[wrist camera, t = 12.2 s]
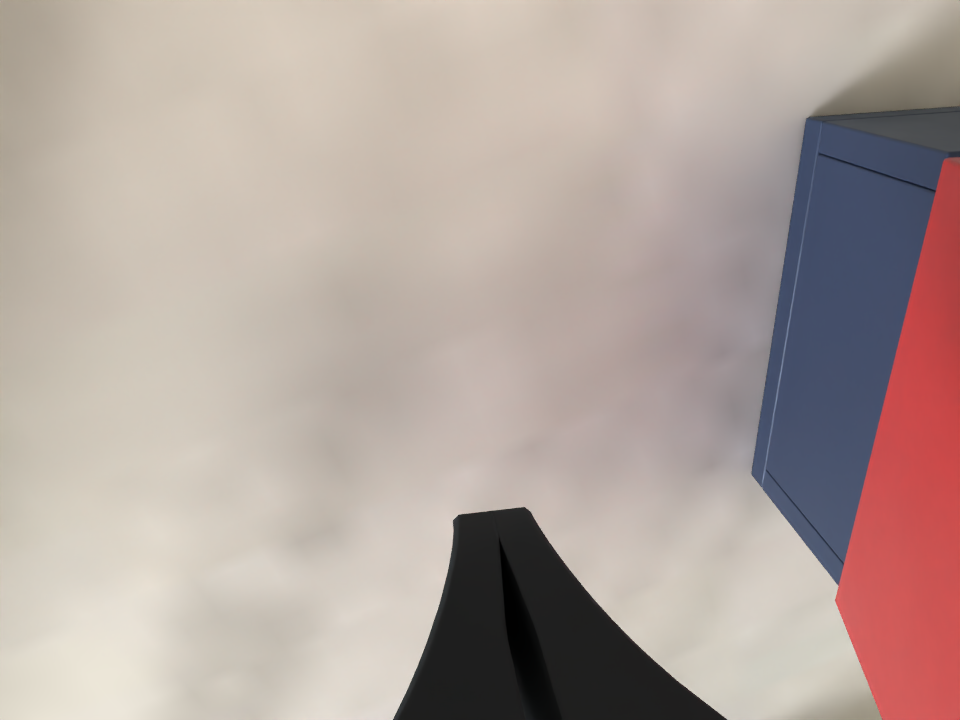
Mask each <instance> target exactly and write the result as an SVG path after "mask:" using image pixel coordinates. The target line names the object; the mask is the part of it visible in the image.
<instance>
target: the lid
mask: <svg viewBox="0 0 960 720" xmlns="http://www.w3.org/2000/svg"><path fill="white" fill-rule="evenodd" d="M835 601H836V604H837V606H838V609H839V611H840V614H841V616H842V619H843V622H844V624H845V627H846V629H847V632H848V634H849V637H850V639H851V642H852V644H853V647H854V649H855V652H856V654H857V657H858V659H859V662H860V664H861V667H862V669H863V672H864V674H865V677H866V679H867V682H868V684H869V687H870V689H871V692H872V694H873V697H874V699H875V702H876V705H877V707H878V710H879V712H880V715H881V717H882V720H960V157H954V158H946V159H944V161H943V164H942V169H941V173H940V177H939V181H938V185H937V189H936V193H935V197H934V201H933V205H932V209H931V213H930V217H929V221H928V225H927V229H926V234H925V238H924V242H923V246H922V250H921V254H920V258H919V262H918V266H917V270H916V274H915V278H914V282H913V286H912V290H911V294H910V299H909V303H908V307H907V311H906V315H905V319H904V323H903V327H902V331H901V335H900V339H899V343H898V347H897V351H896V355H895V359H894V364H893V368H892V372H891V376H890V380H889V384H888V388H887V392H886V396H885V400H884V404H883V408H882V412H881V416H880V420H879V424H878V429H877V433H876V437H875V441H874V445H873V449H872V453H871V457H870V461H869V465H868V469H867V473H866V477H865V481H864V485H863V489H862V494H861V498H860V502H859V506H858V510H857V514H856V518H855V522H854V526H853V530H852V534H851V538H850V542H849V546H848V550H847V554H846V559H845V563H844V567H843V571H842V575H841V579H840V583H839V587H838V591H837V595H836V599H835Z"/></svg>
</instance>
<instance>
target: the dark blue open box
mask: <svg viewBox="0 0 960 720" xmlns="http://www.w3.org/2000/svg"><path fill="white" fill-rule="evenodd" d="M954 157H960V106H958V107H944V108H930V109H916V110H902V111H888V112H874V113H860V114H846V115H832V116H818V117H809V118H807V119H806V124H805V131H804V137H803V144H802V150H801V157H800V163H799V170H798V176H797V183H796V189H795V196H794V202H793V208H792V215H791V221H790V228H789V234H788V241H787V247H786V254H785V260H784V267H783V273H782V280H781V286H780V292H779V299H778V305H777V312H776V318H775V325H774V331H773V338H772V344H771V351H770V357H769V364H768V370H767V377H766V383H765V389H764V396H763V402H762V409H761V415H760V422H759V428H758V435H757V441H756V448H755V454H754V461H753V467H752V476H753V477H754V478H755V479H756V481H757V482H758V483H759V485H760V486H761V487H763V490H764V491H765V493H766V494H767V495H768V496H769V498H770V499H771V500H772V502H773V503H774V504H775V505H776V507H777V508H778V509H779V510H780V512H781V513H782V514H783V516H784V517H785V518H786V519H787V521H788V522H789V523H790V525H791V526H792V527H793V528H794V530H795V531H796V532H797V533H798V535H799V536H800V537H801V539H802V540H803V541H804V542H805V544H806V545H807V546H808V547H809V549H810V550H811V551H812V553H813V554H814V555H815V556H816V558H817V559H818V560H819V562H820V563H821V564H822V565H823V567H824V568H825V569H826V570H827V572H828V573H829V574H830V576H831V577H832V578H833V579H834V581H835V582H836V583H837V585H838V586H839V583H840V579H841V575H842V571H843V567H844V563H845V559H846V554H847V550H848V546H849V542H850V538H851V534H852V530H853V526H854V522H855V518H856V514H857V510H858V506H859V502H860V498H861V494H862V489H863V485H864V481H865V477H866V473H867V469H868V465H869V461H870V457H871V453H872V449H873V445H874V441H875V437H876V433H877V429H878V424H879V420H880V416H881V412H882V408H883V404H884V400H885V396H886V392H887V388H888V384H889V380H890V376H891V372H892V368H893V364H894V359H895V355H896V351H897V347H898V343H899V339H900V335H901V331H902V327H903V323H904V319H905V315H906V311H907V307H908V303H909V299H910V294H911V290H912V286H913V282H914V278H915V274H916V270H917V266H918V262H919V258H920V254H921V250H922V246H923V242H924V238H925V234H926V229H927V225H928V221H929V217H930V213H931V209H932V205H933V201H934V197H935V193H936V189H937V185H938V181H939V177H940V173H941V169H942V164H943V161H944V159H946V158H954Z"/></svg>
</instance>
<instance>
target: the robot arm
mask: <svg viewBox="0 0 960 720" xmlns="http://www.w3.org/2000/svg"><path fill="white" fill-rule="evenodd" d="M453 526H454V534H453V546H452V553H451V558H450V564H449V569H448V573H447V577H446V581H445V585H444V589H443V593H442V597H441V601H440V604H439V608H438V611H437V614H436V617H435V620H434V623H433V626H432V629H431V632H430V635H429V638H428V641H427V644H426V646H425V649H424V651H423V654H422V657H421V659H420V662H419V664H418V667H417V669H416V671H415V674H414V676H413V678H412V681H411V683H410V685H409V688H408V690H407V692H406V694H405V696H404V698H403V700H402V702H401V704H400V706H399V709H398V711H397V713H396V715H395V717H394V719H393V720H727V719H726V718H724V717H723V716H722V715H720V714H719V713H718V712H717V711H715V710H714V709H713V708H711V707H710V706H709V705H708V704H706V703H705V702H704V701H702V700H701V699H700V698H699V697H697V696H696V695H695V694H693V693H692V692H691V691H689V690H688V689H687V688H686V687H684V686H683V685H682V684H680V683H679V682H678V681H677V680H676V679H674V678H673V677H672V676H671V675H670V674H669V673H668V672H666V671H665V670H664V669H663V668H662V667H661V666H660V665H658V664H657V663H656V662H655V661H654V660H653V659H652V658H651V657H650V656H648V655H647V654H646V653H645V652H644V651H643V650H642V649H641V648H640V647H639V646H638V645H637V644H636V643H635V642H634V641H633V640H632V639H631V638H630V637H629V636H628V635H627V634H626V633H625V632H624V631H623V630H622V629H621V628H620V627H619V626H618V625H617V624H616V623H615V622H614V621H613V620H612V619H611V618H610V617H609V616H608V614H607V613H606V612H605V611H604V610H603V609H602V608H601V607H600V606H599V605H598V604H597V602H596V601H595V600H594V599H593V598H592V597H591V595H590V594H589V593H588V592H587V591H586V590H585V588H584V587H583V586H582V585H581V583H580V582H579V581H578V580H577V578H576V577H575V576H574V575H573V573H572V572H571V571H570V570H569V568H568V567H567V566H566V565H565V563H564V562H563V561H562V559H561V558H560V557H559V555H558V554H557V552H556V551H555V550H554V548H553V547H552V545H551V544H550V543H549V541H548V540H547V538H546V537H545V535H544V534H543V532H542V531H541V529H540V527H539V526H538V524H537V522H536V521H535V519H534V517H533V516H532V514H531V512H530V511H529V510H528V509H526V508H525V507H522V508H513V509H504V510H496V511H487V512H479V513H470V514H461V515H458V516H457V517H456V518H455V519H454V520H453Z"/></svg>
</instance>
